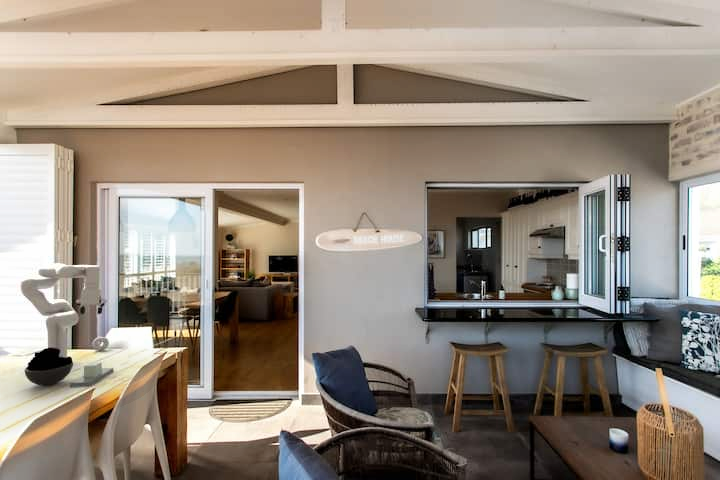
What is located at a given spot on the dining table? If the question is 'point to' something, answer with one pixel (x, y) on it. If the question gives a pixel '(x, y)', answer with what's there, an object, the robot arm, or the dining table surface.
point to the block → (93, 369)
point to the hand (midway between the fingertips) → (91, 313)
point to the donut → (98, 339)
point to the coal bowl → (48, 367)
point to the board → (90, 378)
